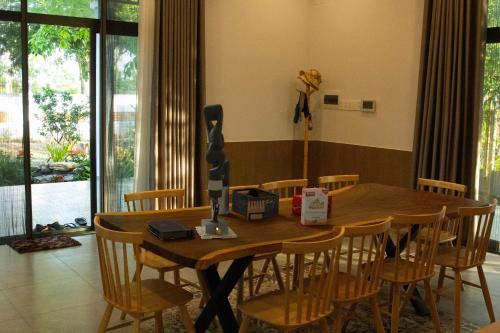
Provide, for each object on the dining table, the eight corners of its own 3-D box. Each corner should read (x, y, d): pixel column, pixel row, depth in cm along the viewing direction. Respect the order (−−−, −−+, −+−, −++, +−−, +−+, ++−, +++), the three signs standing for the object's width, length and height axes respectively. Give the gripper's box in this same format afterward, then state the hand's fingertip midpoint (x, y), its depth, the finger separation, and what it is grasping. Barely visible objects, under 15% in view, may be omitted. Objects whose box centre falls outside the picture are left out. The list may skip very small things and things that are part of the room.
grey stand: (195, 228, 309) (195, 218, 308) (227, 227, 313) (227, 217, 312) (202, 239, 288) (202, 228, 287) (236, 237, 292) (236, 227, 291)
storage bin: (280, 216, 346) (281, 194, 344) (255, 219, 335) (255, 197, 333) (254, 207, 369) (254, 187, 367) (229, 210, 358) (229, 189, 356)
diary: (177, 227, 313) (177, 218, 313) (194, 238, 292) (194, 229, 291) (144, 230, 305) (144, 221, 304) (159, 241, 283) (159, 232, 282)
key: (210, 226, 304) (210, 204, 303) (217, 226, 305) (217, 204, 304) (211, 228, 301) (211, 205, 299) (218, 228, 302) (219, 205, 300)
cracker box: (304, 226, 321) (305, 189, 318) (300, 223, 327) (301, 188, 324) (327, 225, 325) (328, 189, 322) (323, 222, 331) (324, 187, 328)
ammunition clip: (247, 221, 329) (248, 201, 327) (246, 220, 331) (247, 200, 329) (264, 220, 333) (265, 200, 331) (263, 219, 334) (264, 199, 333)
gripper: (205, 186, 306) (205, 217, 308) (210, 190, 292) (210, 223, 295) (219, 185, 308) (218, 216, 310) (224, 190, 294) (224, 222, 297)
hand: (214, 219), depth 302 cm, fingers closed on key, 3 cm apart
